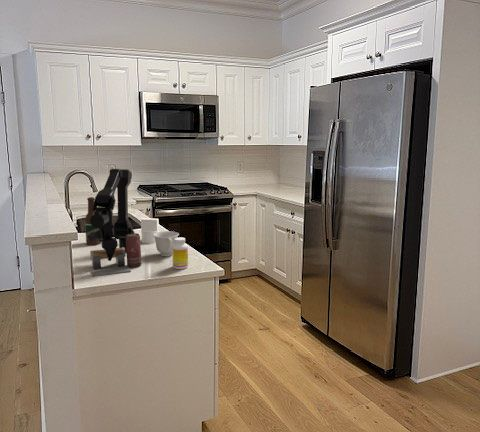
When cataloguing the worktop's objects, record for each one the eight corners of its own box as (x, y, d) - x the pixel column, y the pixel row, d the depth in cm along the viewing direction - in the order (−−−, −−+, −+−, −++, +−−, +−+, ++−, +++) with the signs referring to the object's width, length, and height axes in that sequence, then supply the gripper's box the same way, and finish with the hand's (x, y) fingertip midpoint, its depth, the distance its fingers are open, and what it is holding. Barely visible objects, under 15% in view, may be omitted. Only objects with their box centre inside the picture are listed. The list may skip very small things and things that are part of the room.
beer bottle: (89, 246, 223) (86, 199, 218) (83, 243, 229) (80, 197, 224) (104, 243, 228) (101, 197, 223) (97, 240, 234) (95, 195, 229)
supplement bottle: (189, 269, 191) (188, 240, 188) (173, 270, 189) (173, 241, 186) (186, 264, 197) (186, 236, 194) (171, 265, 195) (170, 237, 193)
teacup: (157, 261, 201) (157, 240, 199) (151, 252, 214) (150, 232, 212) (183, 258, 205) (183, 237, 203) (175, 249, 219) (175, 230, 217)
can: (142, 263, 198) (141, 232, 195) (140, 267, 192) (138, 236, 189) (129, 263, 198) (127, 232, 195) (125, 267, 191) (123, 236, 189)
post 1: (92, 265, 194) (91, 253, 193) (99, 265, 195) (98, 253, 194) (93, 270, 188) (93, 257, 187) (101, 269, 190) (100, 256, 188)
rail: (90, 258, 192) (90, 250, 191) (124, 254, 197) (123, 247, 196) (91, 260, 189) (90, 252, 188) (125, 256, 194) (125, 249, 193)
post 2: (116, 263, 198) (115, 251, 197) (122, 262, 199) (122, 250, 198) (118, 267, 192) (117, 255, 191) (125, 266, 194) (124, 254, 192)
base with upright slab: (161, 239, 238) (160, 217, 236) (156, 243, 229) (155, 221, 227) (144, 238, 239) (143, 216, 236) (139, 243, 230) (138, 220, 228)
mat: (91, 271, 186) (91, 270, 186) (128, 267, 192) (128, 266, 192) (93, 276, 181) (93, 275, 181) (130, 271, 187) (130, 270, 186)
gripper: (84, 219, 195) (86, 253, 198) (88, 229, 178) (90, 266, 181) (110, 217, 199) (112, 251, 202) (116, 226, 182) (118, 263, 186)
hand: (108, 257), depth 193 cm, fingers open, 9 cm apart
